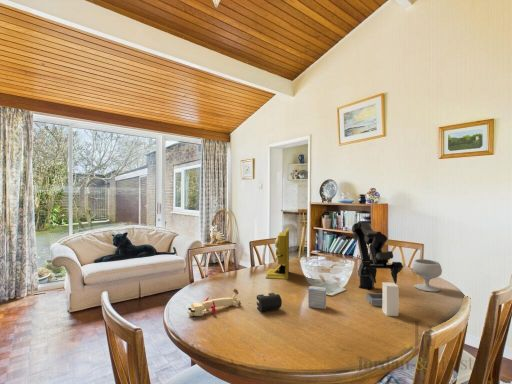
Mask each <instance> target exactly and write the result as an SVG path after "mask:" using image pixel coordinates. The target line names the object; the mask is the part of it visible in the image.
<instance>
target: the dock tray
mask: <svg viewBox="0 0 512 384" xmlns="http://www.w3.org/2000/svg"><path fill="white" fill-rule="evenodd" d="M365 299H366V301H368V303H369V304H370V306H372V307H382V293H381V292H378V293H377V292H366V293H365Z"/></svg>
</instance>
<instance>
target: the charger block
mask: <svg viewBox="0 0 512 384" xmlns="http://www.w3.org/2000/svg"><path fill="white" fill-rule="evenodd" d="M399 287H400V286H399V285H397V283H396V284H395V283H394V282H387V281H386V282H383V281H382V306H381V308H382V310H381V311H382V312H383V313H384V315H385V316H386V317H389V316H390V317H398V316H399V309H400V308H399V307H400V306H399V305H400V304H399V301H400V300H399V296H400V295H399V294H400V293H399V292H400V289H399Z"/></svg>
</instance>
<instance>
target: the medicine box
mask: <svg viewBox="0 0 512 384" xmlns="http://www.w3.org/2000/svg"><path fill="white" fill-rule="evenodd" d="M307 302H308V308H314V309H322V310H326V309H327V287H323V286H310V285H309V286H308V301H307Z"/></svg>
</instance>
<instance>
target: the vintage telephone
mask: <svg viewBox="0 0 512 384" xmlns="http://www.w3.org/2000/svg"><path fill="white" fill-rule="evenodd" d="M274 246H275V248H276V249H275V261H277V264H278V265H277V266H276V268H269V269H268V270H267V273H266V276H265V279H272V280H273V279H274V280H275V279H276V280H277V279H278V280H286V281H289V272H290V258H289V257H290V227H287V228H286V229H285V232H284V231H281V232H278V234H277V237H276V239H275V242H274Z"/></svg>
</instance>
